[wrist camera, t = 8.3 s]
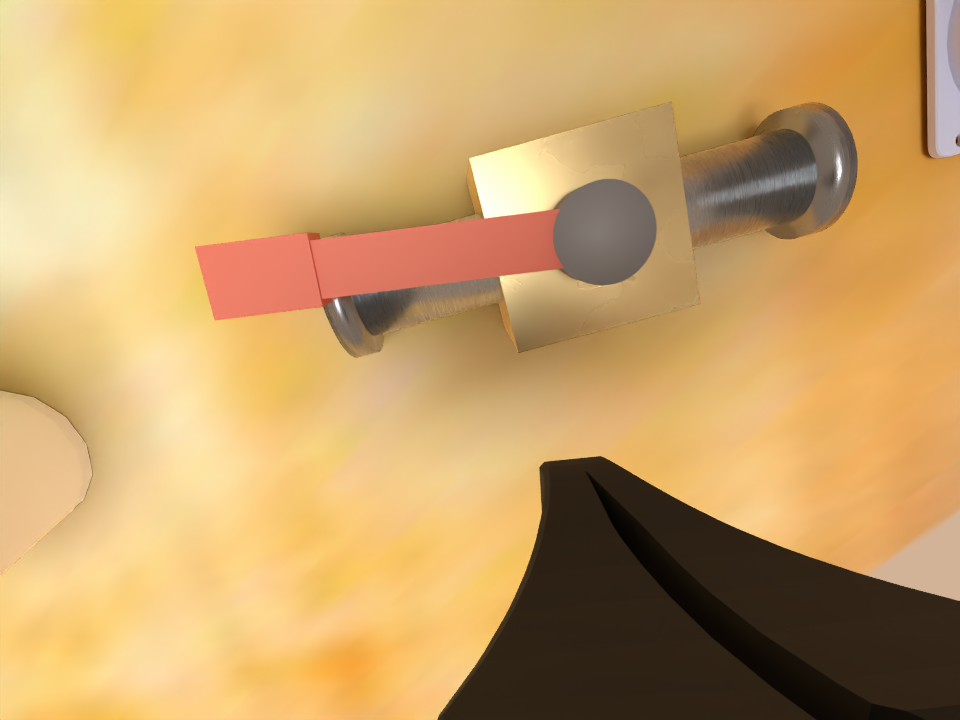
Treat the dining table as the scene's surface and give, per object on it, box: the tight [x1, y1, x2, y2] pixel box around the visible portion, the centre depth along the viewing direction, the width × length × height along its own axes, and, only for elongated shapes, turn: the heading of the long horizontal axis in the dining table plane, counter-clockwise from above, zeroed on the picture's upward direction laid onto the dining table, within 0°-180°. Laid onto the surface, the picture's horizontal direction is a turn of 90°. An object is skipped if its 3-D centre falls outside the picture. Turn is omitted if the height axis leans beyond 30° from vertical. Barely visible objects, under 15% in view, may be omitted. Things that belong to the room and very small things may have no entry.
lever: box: [195, 179, 657, 320], centre depth 13 cm, size 12×3×1 cm, turn 97°
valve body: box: [320, 102, 857, 358], centre depth 16 cm, size 17×6×5 cm, turn 105°
